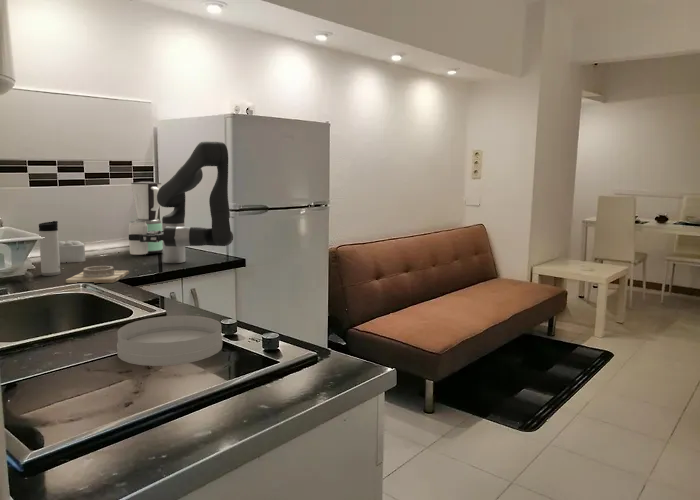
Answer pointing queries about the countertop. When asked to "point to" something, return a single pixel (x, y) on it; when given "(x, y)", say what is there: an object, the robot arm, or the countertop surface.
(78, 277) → the socket plate
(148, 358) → the dish
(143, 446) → the countertop surface
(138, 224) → the can
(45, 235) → the travel mug
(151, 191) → the juicer
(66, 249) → the light grey rounded block
